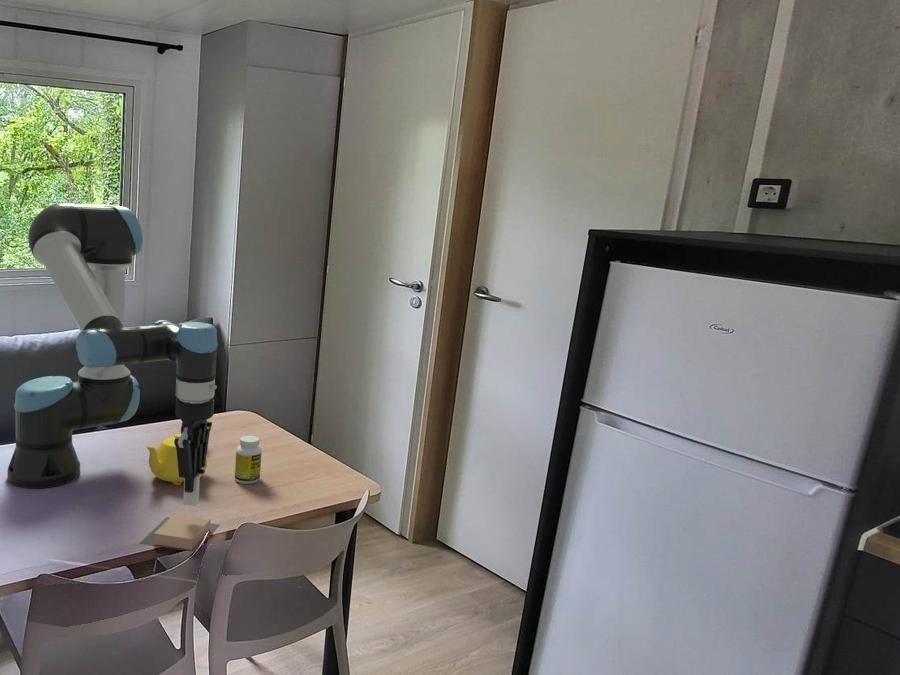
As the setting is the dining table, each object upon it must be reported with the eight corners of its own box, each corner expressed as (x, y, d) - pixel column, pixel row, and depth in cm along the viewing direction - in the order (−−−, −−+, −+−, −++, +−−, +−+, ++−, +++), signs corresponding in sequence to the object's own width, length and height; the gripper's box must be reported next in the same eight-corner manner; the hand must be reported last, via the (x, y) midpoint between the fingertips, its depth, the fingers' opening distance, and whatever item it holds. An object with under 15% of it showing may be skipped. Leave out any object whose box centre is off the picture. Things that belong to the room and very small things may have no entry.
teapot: (168, 501, 165) (169, 455, 162) (125, 483, 171) (126, 438, 169) (233, 476, 182) (235, 433, 179) (192, 460, 189) (194, 419, 186)
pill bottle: (252, 486, 177) (255, 444, 175) (230, 482, 178) (232, 440, 176) (264, 477, 183) (266, 436, 181) (242, 473, 184) (244, 432, 182)
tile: (174, 524, 154) (153, 544, 145) (174, 513, 153) (154, 533, 144) (210, 530, 153) (191, 550, 144) (210, 519, 153) (192, 539, 144)
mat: (139, 545, 145) (139, 543, 145) (166, 518, 157) (166, 517, 157) (196, 553, 144) (196, 551, 144) (219, 526, 156) (219, 524, 156)
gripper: (199, 409, 140) (194, 520, 145) (225, 391, 153) (220, 493, 158) (162, 404, 141) (158, 514, 145) (191, 387, 153) (187, 488, 158)
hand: (190, 503), depth 152 cm, fingers closed
